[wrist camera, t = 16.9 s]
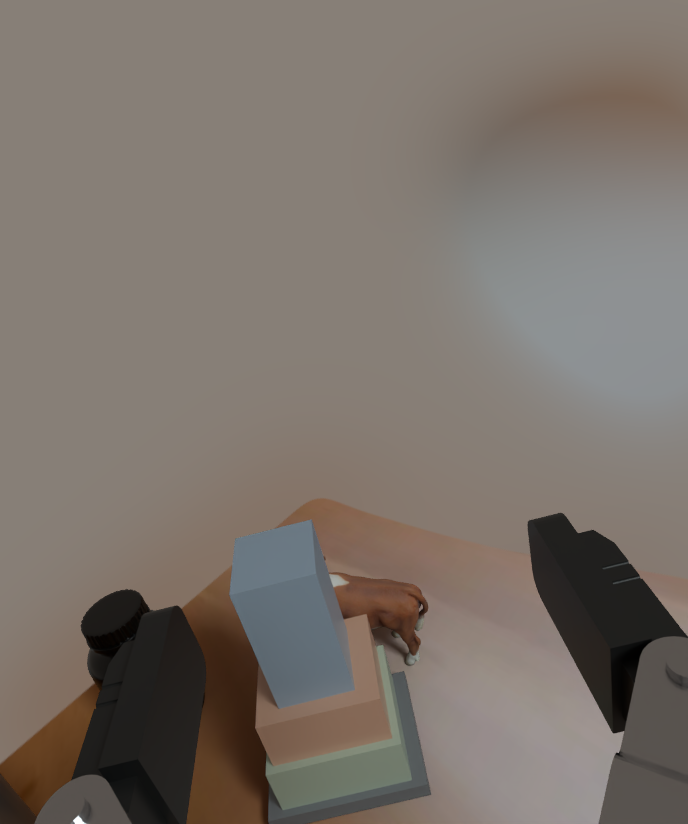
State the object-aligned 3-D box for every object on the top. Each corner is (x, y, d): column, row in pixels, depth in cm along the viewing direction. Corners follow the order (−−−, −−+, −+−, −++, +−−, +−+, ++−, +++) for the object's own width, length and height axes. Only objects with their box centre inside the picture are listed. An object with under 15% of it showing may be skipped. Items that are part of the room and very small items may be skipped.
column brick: (278, 708, 38) (229, 595, 33) (278, 646, 42) (235, 538, 38) (355, 690, 38) (315, 573, 33) (346, 629, 42) (311, 519, 38)
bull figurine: (312, 606, 58) (290, 542, 54) (443, 637, 51) (428, 566, 47) (289, 641, 54) (263, 576, 51) (426, 679, 48) (408, 607, 44)
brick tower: (273, 831, 40) (230, 748, 36) (275, 712, 48) (240, 633, 44) (431, 794, 40) (406, 707, 36) (406, 681, 48) (384, 599, 44)
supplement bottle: (222, 687, 52) (173, 586, 46) (172, 761, 46) (110, 658, 41) (164, 669, 55) (112, 573, 49) (111, 737, 50) (47, 638, 44)
